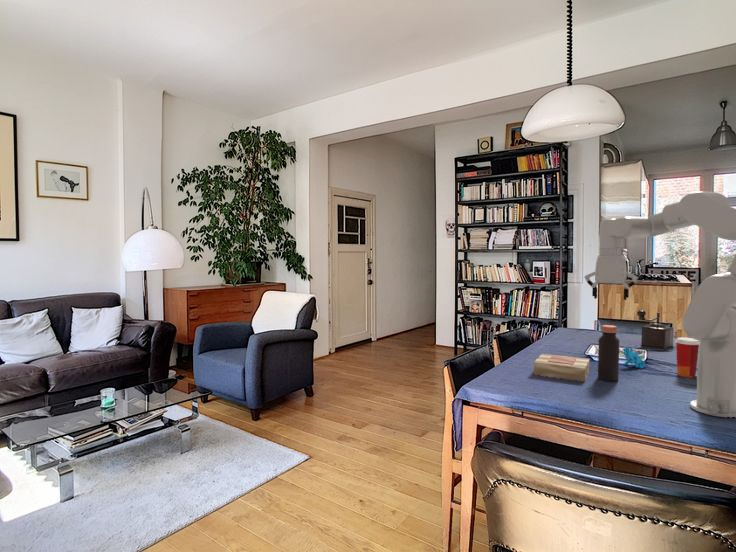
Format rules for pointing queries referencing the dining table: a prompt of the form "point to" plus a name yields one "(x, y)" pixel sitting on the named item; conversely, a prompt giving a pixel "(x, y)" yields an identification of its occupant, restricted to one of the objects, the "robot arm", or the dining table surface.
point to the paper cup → (687, 356)
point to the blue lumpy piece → (633, 358)
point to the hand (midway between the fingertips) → (610, 298)
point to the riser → (562, 367)
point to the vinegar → (608, 354)
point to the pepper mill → (655, 333)
